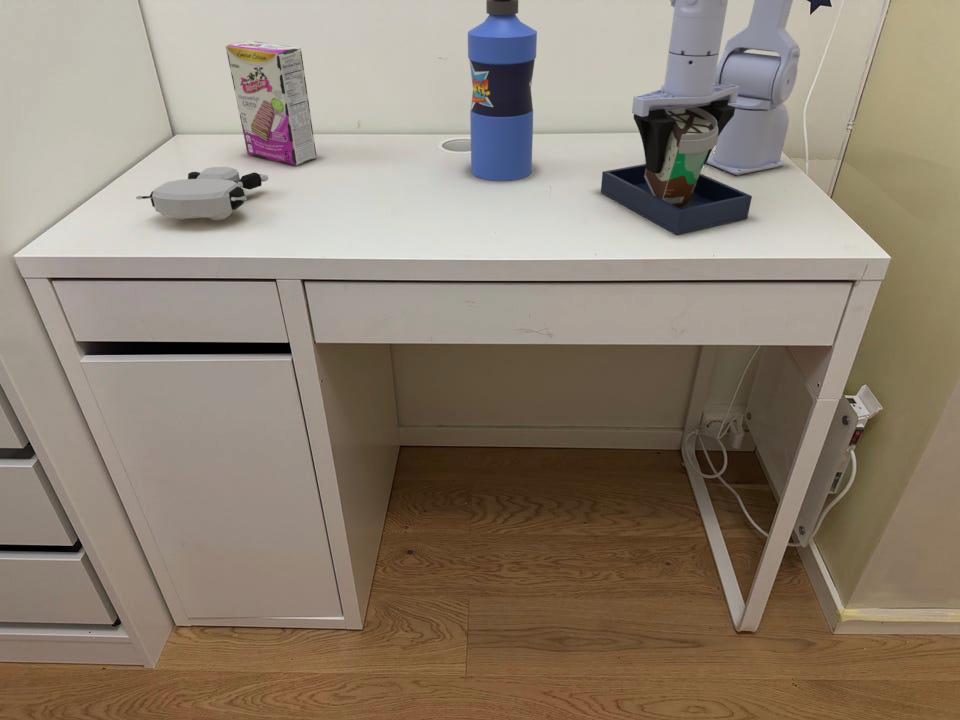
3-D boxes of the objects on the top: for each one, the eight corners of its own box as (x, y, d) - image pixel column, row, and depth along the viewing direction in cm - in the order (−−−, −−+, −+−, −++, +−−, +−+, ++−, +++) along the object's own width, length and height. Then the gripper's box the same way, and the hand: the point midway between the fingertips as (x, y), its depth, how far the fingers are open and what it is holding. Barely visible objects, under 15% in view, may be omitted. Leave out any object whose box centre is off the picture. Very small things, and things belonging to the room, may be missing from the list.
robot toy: (192, 194, 98) (140, 228, 85) (186, 162, 96) (131, 192, 83) (276, 195, 98) (236, 230, 85) (271, 163, 95) (229, 194, 82)
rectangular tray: (665, 180, 99) (668, 159, 97) (747, 218, 87) (752, 195, 85) (600, 192, 95) (602, 171, 93) (676, 235, 83) (680, 211, 81)
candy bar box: (245, 156, 110) (223, 45, 101) (268, 147, 114) (249, 39, 105) (295, 167, 105) (277, 51, 96) (318, 158, 109) (302, 46, 100)
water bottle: (514, 157, 108) (517, -24, 94) (544, 175, 101) (552, -19, 87) (460, 166, 105) (455, -21, 91) (487, 185, 98) (485, -14, 84)
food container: (711, 217, 85) (736, 139, 79) (662, 215, 85) (683, 136, 78) (685, 174, 94) (706, 100, 88) (641, 171, 94) (658, 97, 88)
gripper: (718, 41, 86) (700, 150, 94) (622, 51, 81) (611, 166, 88) (759, 50, 81) (737, 164, 88) (660, 62, 76) (644, 182, 83)
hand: (676, 166), depth 88 cm, fingers closed on food container, 7 cm apart
